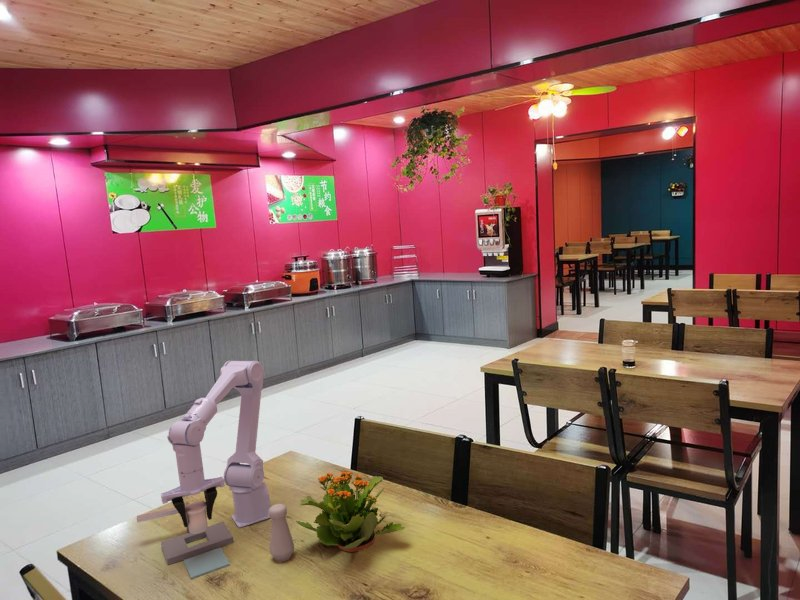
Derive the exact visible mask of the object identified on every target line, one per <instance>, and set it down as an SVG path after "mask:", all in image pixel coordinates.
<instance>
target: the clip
mask: <svg viewBox="0 0 800 600" xmlns="http://www.w3.org/2000/svg"><path fill="white" fill-rule="evenodd" d="M190 503H191V502H190ZM190 503H185V507H186V506H187V505H188V504H190ZM176 514H179V512H178V511H177V509H176V508H175V507H174V506H173V507H170V508H166V509H161V510H158V511H157V510H156V511H153V512H152V511H151V512H149V513H144V514H139V515H136V522H137V523H142V522H146V521H151V520H155V519H159V518H164V517H168V516H172V515H173V516H174V515H176Z"/></svg>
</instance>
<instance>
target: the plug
mask: <svg viewBox="0 0 800 600" xmlns="http://www.w3.org/2000/svg"><path fill="white" fill-rule="evenodd" d="M187 504H188V505H187V506H186V507H185V513H186V514H187V519H188V527H189V533H191V534H199V533H202V532H204V531H206V530H207V528H208V526H209V524H208V517H207V512H206V508H207V503H206V501H203V500H202V501H201V500H199V501H193V502H190V504H189V503H187Z"/></svg>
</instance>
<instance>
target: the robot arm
mask: <svg viewBox="0 0 800 600" xmlns="http://www.w3.org/2000/svg"><path fill="white" fill-rule="evenodd" d="M219 373H220V376H219V377H218V379H217V380H216V382H215V383H214V385H213V386H212V387H211V389H210V390H209V392H208V393H207V395H206V396H205V397H199V398H197V399H195V400H194V402H193V405H192V406H191V407H190V409H189V410H187V412H186V413H185V415H184V416H183V417H181V420H176V421H175V422H173V423H172V424H171V425H170V427H169V429H168V434H167V436H166V437H167V440H168V442H169V443H170V445H171V446H172V450H173V451H174V452H175V459H176V460H175V461H176V465H177V466H176V467H177V471H178V472H177V473H178V480H179V481H178V482H179V486H177V487H175V488H172V489H170V490H168V491H165V492H161V493H160V499H161V503H162V504H163V505H164V504H168V502H170V501H171V503H172V505H173V508H174V507H175V508H176V509H177V511H178V512H179V513H178V514H179V516H180V517H181V519H182V523H183V526H184V528H187V527H188V523H187V518H186V513H185V504H186V503H185V501H184V498H185V497H188V496H196V495H199V494H201V493H202V492H203V493H204V494H203V495H204V500H205V501H204V502H206V503H207V508H206V516H207V520H209V521H210V520H212V519H213V517H212V515H213V510H214V509H213V508H214V505H215V502H216V499H217V497H218V490H217V488H219V487H220V488H224V487H225V486H227V487H228V488H229V491H231V493H232V494H231V495H232V501H233V502H232V503H233V509H234V514H231V519H232V520H233V522H234V523H235V525H236V527H238V529H241V528H244V527H247V526H249V525H252V524H255V523H258V522H262V521H264V520H267V519H271V518H270V517H269V508H270V507H271V506H272V505H271V498H270V492H269V489H268V485H267V484H266V482H264V479H265V471H264V460H263V459H262V458H261V457H260V456H259V455H258V454H257V453H256V450H257V439H258V429H259V418H260V409H261V399H262V391H263V386H264V375H265V369H264V367H263V365H262V364H261V363H260V361H259V360H227V361H225V363H224V364H223V366H222V367H221V368H220V372H219ZM233 388H234V389H235V390H237V392H238V393H239V394H240V395H241V396H240V397H241V398H240V406H239V416H238V418H239V419H238V424H237V425H238V427H237V434H236V435H237V436H236V444H235V445H236V446H235V452H234V453H233V454H232V455H230V457H228V458H227V462H226V463H227V464H226V466H225V468H224V471H223V476H220V477H214V478H208V479H205V473H204V466H203V465H204V464H203V457H202V450H201V442H202V441H203V440H204V435H205V431H206V429H207V425H209V423H210V422H211V420H212V419H213V418H214V417H215V415H216V414H217V412H218V406H217V405H219V404H220V402H221V401H222V400H223V399H224V398H225V397H226V396H227V395H228V393H229V392H230V391H231V390H232V389H233Z"/></svg>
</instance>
